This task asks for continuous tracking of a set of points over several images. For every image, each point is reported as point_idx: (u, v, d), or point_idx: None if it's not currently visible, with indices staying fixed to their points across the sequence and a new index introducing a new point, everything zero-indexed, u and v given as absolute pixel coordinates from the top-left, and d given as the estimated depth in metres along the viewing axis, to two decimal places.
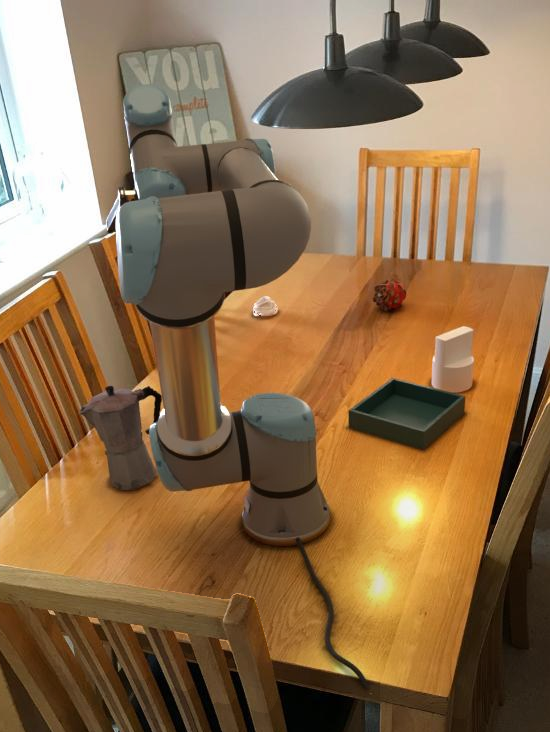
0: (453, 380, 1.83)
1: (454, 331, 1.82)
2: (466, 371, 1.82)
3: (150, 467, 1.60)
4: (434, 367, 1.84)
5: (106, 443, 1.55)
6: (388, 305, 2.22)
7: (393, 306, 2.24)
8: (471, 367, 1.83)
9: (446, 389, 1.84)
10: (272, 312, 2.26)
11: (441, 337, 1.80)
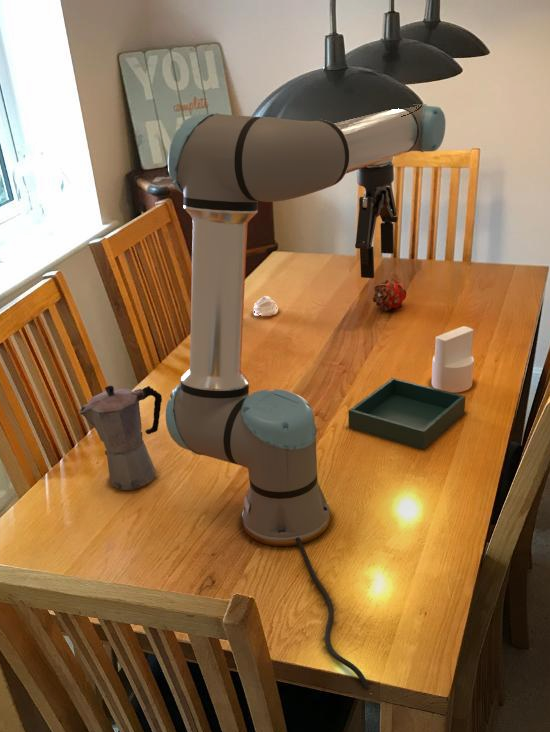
0: (453, 380, 1.83)
1: (454, 331, 1.82)
2: (466, 371, 1.82)
3: (150, 467, 1.60)
4: (434, 367, 1.84)
5: (106, 443, 1.55)
6: (388, 305, 2.22)
7: (393, 306, 2.24)
8: (471, 367, 1.83)
9: (446, 389, 1.84)
10: (272, 312, 2.26)
11: (441, 337, 1.80)
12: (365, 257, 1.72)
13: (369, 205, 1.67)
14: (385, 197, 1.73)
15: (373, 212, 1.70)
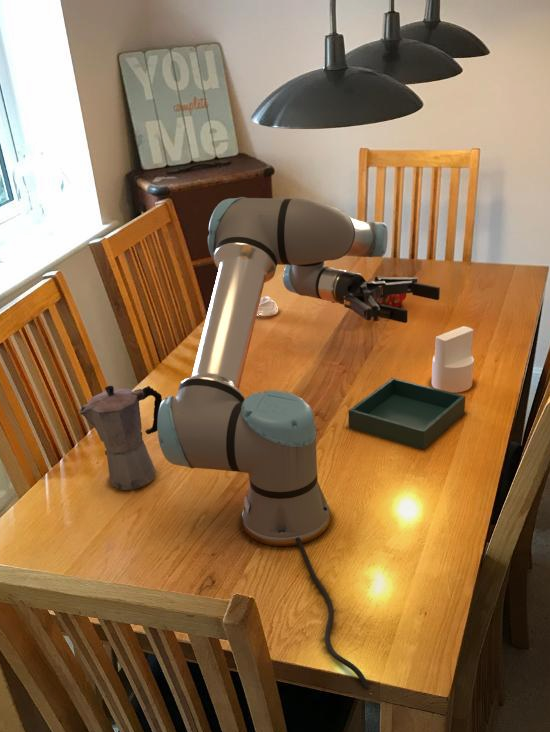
0: (453, 380, 1.83)
1: (454, 331, 1.82)
2: (466, 371, 1.82)
3: (150, 467, 1.60)
4: (434, 367, 1.84)
5: (106, 443, 1.55)
6: (388, 305, 2.22)
7: (393, 306, 2.24)
8: (471, 367, 1.83)
9: (446, 389, 1.84)
10: (272, 312, 2.26)
11: (441, 337, 1.80)
12: None
13: None
14: None
15: None
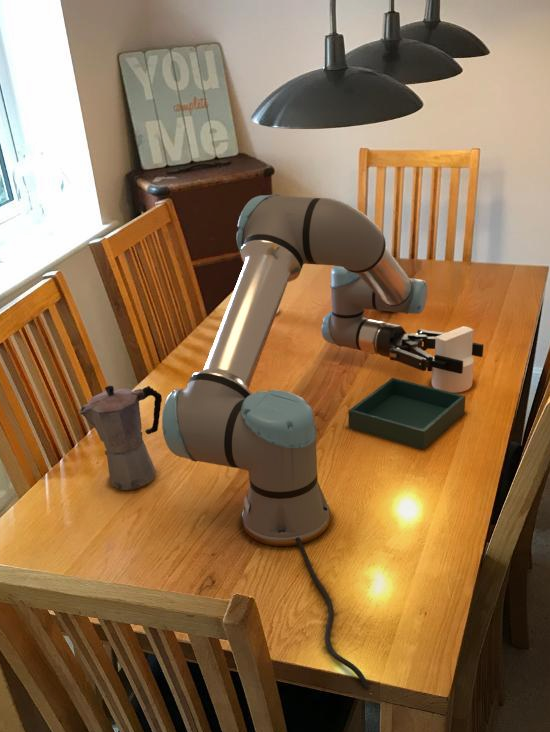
0: (453, 380, 1.83)
1: (454, 331, 1.82)
2: (466, 371, 1.82)
3: (150, 467, 1.60)
4: None
5: (106, 443, 1.55)
6: None
7: None
8: (471, 367, 1.83)
9: (446, 389, 1.84)
10: None
11: (441, 337, 1.80)
12: None
13: None
14: None
15: None
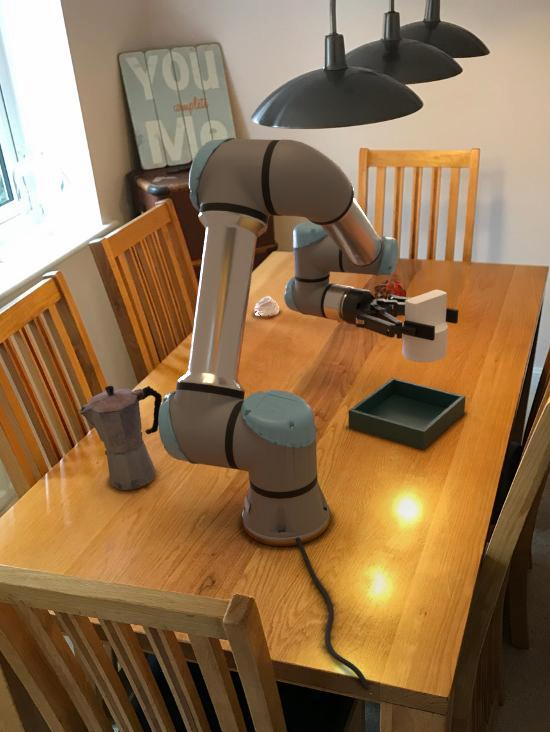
0: (424, 348, 1.67)
1: (426, 294, 1.66)
2: (439, 338, 1.66)
3: (150, 467, 1.60)
4: None
5: (106, 443, 1.55)
6: None
7: None
8: (444, 334, 1.67)
9: (417, 358, 1.68)
10: (273, 312, 2.26)
11: (411, 300, 1.64)
12: None
13: None
14: None
15: None
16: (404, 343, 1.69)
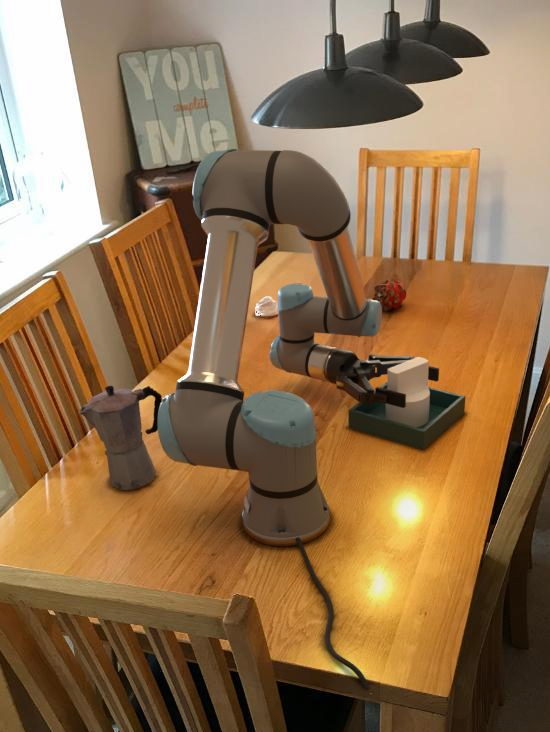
0: (407, 415, 1.69)
1: (408, 362, 1.69)
2: (421, 406, 1.69)
3: (150, 467, 1.60)
4: None
5: (106, 443, 1.55)
6: (388, 305, 2.22)
7: (393, 306, 2.24)
8: (426, 401, 1.70)
9: None
10: (274, 312, 2.26)
11: (393, 369, 1.67)
12: None
13: None
14: None
15: None
16: (387, 409, 1.72)
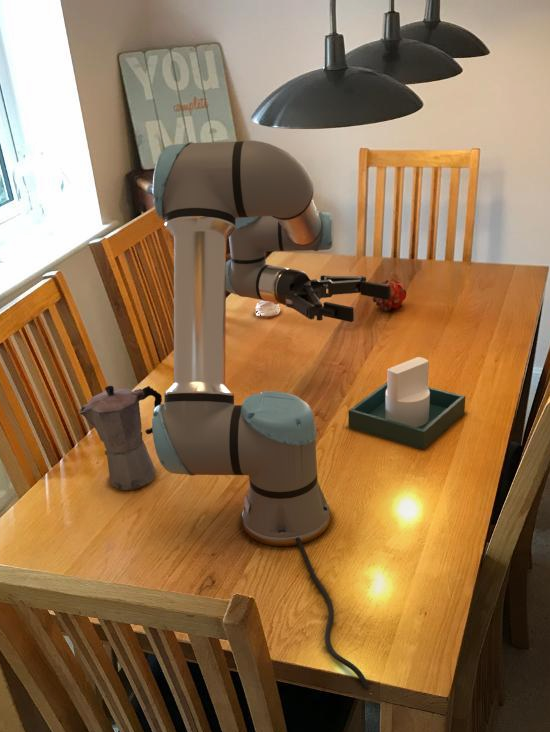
0: (407, 415, 1.69)
1: (408, 362, 1.69)
2: (421, 406, 1.69)
3: (150, 467, 1.60)
4: (387, 400, 1.71)
5: (106, 443, 1.55)
6: (388, 305, 2.22)
7: (393, 306, 2.24)
8: (426, 401, 1.70)
9: None
10: (274, 312, 2.26)
11: (393, 369, 1.67)
12: None
13: None
14: None
15: None
16: (387, 409, 1.72)
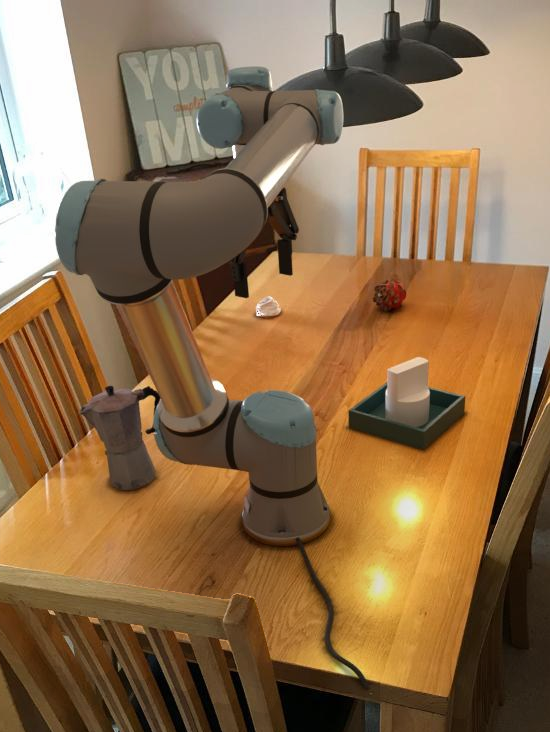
0: (407, 415, 1.69)
1: (408, 362, 1.69)
2: (421, 406, 1.69)
3: (150, 467, 1.60)
4: (387, 400, 1.71)
5: (106, 443, 1.55)
6: (388, 305, 2.22)
7: (393, 306, 2.24)
8: (426, 401, 1.70)
9: None
10: (275, 312, 2.26)
11: (393, 369, 1.67)
12: None
13: None
14: None
15: None
16: (387, 409, 1.72)
